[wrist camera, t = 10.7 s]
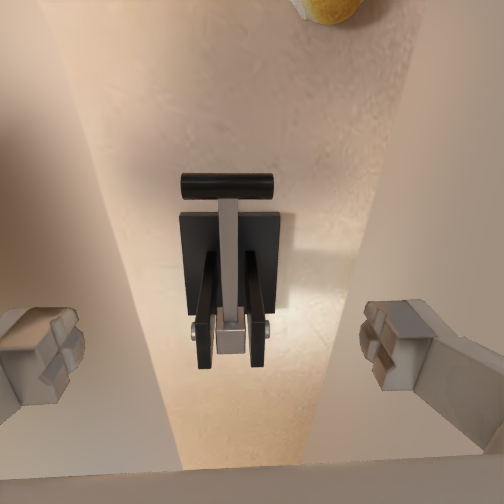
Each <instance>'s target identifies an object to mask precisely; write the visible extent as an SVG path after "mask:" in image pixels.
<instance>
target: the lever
mask: <svg viewBox="0 0 504 504" xmlns="http://www.w3.org/2000/svg"><path fill="white" fill-rule="evenodd" d="M273 193H274V177H273V174H272V173H182V175H181V194H182V198H183V199H184V200H218V208H219V232H220V256H221V280H222V305H223V307H217V311H216V330H215V331H216V346H217V354H243V353H245V339H246V326H245V308H244V307H238V199H272V198H273Z"/></svg>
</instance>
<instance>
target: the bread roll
mask: <svg viewBox="0 0 504 504" xmlns="http://www.w3.org/2000/svg"><path fill="white" fill-rule="evenodd" d="M290 1H291V3H292V4H293V5H294V7H295V9H296V11H297V12H298V14H299V15H300V17H301V18H303V19H304V20H305V21H312V22H316V23H319V24H323V25H333V24H336V23H339V22H342V21H344V20H346V19H348V18H349V17H350V16H351V15H353V14H354V12H355V11H356V10H357V9H358V7H359V5H360V4H361V3H362V2H363V1H365V0H290Z"/></svg>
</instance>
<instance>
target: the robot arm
mask: <svg viewBox="0 0 504 504" xmlns="http://www.w3.org/2000/svg"><path fill="white" fill-rule="evenodd" d="M364 314H365V316H366V318H367V320H366V321H365V322H364V323H363V324H362V325H361V328H360V333H359V336H360V346H361V349H362V352H363V354H364V356H365V358H366V359H367V360H369V361H370V362H372V363H373V368H372V372H373V374H374V376H375V378H376V380H377V381H378V383H379V385H380V387H381V389H382V391H406V390H408V391H409V390H414V393H416V394H417V395H418V396H419V397H420V398H421V399H423V400H424V401H425V402H426V403H427V404H429V405H430V406H431V407H432V408H433V409H435V410H436V411H437V412H438V413H439V414H441V415H442V416H443V417H444V418H445V419H446V420H448V421H449V422H450V423H451V424H452V425H454V426H455V427H456V428H457V429H459V430H460V431H461V432H462V433H463V434H464V435H466V436H467V437H468V438H469V439H470V440H472V441H473V442H474V443H475V444H476V445H478V446H479V447H480V448H481V449H482V450H484V452H483V454H482V455H464V456H445V457H426V458H408V459H407V458H406V459H388V460H370V461H351V462H333V463H316V464H296V465H278V466H260V467H240V468H221V469H202V470H182V471H163V472H144V473H124V474H105V475H87V476H68V477H50V478H49V477H48V478H30V479H11V480H0V504H504V356H503V355H501V354H498V353H497V352H494V351H493V350H490V349H488V348H486V347H484V346H482V345H480V344H478V343H476V342H474V341H472V340H470V339H468V338H466V337H458V335H457V334H456V333H455V332H454V331H453V330H452V329H451V328H450V327H449V326H448V325H447V324H446V323H445V322H444V321H443V320H442V319H441V318H440V317H439V316H438V315H437V314H436V313H435V311H434V310H433V309H432V308H431V307H430V306H429V305H428V304H427V303H426V302H425V301H423V300H421V299H411V300H401V301H369V302H368V303H367V304H366V306H365V310H364ZM78 320H79V318H78V316H77V313H76V310H75V309H73V308H70V307H69V308H68V307H65V308H63V307H61V308H60V307H58V308H57V307H53V308H52V307H51V308H50V307H45V308H44V307H43V308H42V307H40V308H39V307H36V308H35V307H34V308H12V309H9V310H7V311H6V312H5V313H4V314H3V315H2V316H1V317H0V425H1V424H2V423H3V422H5V421H6V420H7V419H8V418H9V417H11V416H12V415H13V414H14V413H16V412H17V411H18V410H19V409H20V408H21V406H27V405H43V404H57V403H58V401H59V400H60V398H61V396H62V394H63V392H64V391H65V389H66V387H67V386H68V384H69V382H70V379H69V376H68V374H69V373H71V372H72V371H74V370H75V369H77V368H78V366H79V365H80V363H81V361H82V359H83V355H84V351H85V339H84V335H83V332H81V331H80V330H79V329H78V328H76V327H75V326H76V324H77V322H78Z"/></svg>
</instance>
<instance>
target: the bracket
mask: <svg viewBox="0 0 504 504" xmlns="http://www.w3.org/2000/svg"><path fill="white" fill-rule="evenodd" d="M280 217H281V216H280V214H279V212H238V307H244V308H245V314H247V320H248V334H249V348H250V362H251V367H264V350H265V339H267V338H269V337H270V324H269V320H265V314H272V313H275V300H276V284H277V267H278V250H279V233H280ZM179 222H180V232H181V243H182V254H183V265H184V276H185V287H186V298H187V308H188V315H196V318H195V322H192V326H191V339H192V341H196V347H197V359H198V369H211V367H212V354H213V341H214V328H215V315H216V311H217V307H223V305H222V280H221V256H220V232H219V212H181V213H180V216H179Z"/></svg>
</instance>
